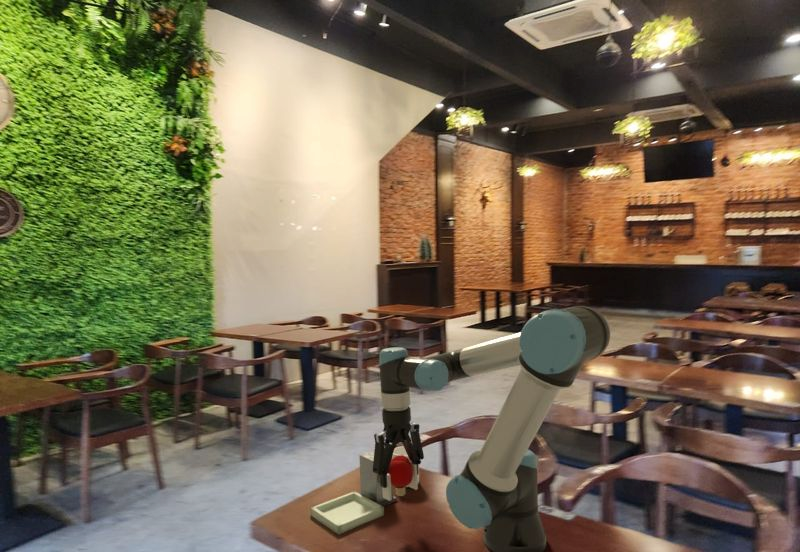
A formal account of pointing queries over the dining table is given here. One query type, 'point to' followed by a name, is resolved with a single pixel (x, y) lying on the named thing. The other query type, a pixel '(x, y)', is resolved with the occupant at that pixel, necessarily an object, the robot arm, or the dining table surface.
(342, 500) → the tray
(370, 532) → the dining table surface
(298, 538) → the dining table surface
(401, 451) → the mug
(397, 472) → the red rounded piece
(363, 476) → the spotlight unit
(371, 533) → the dining table surface
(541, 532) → the robot arm
